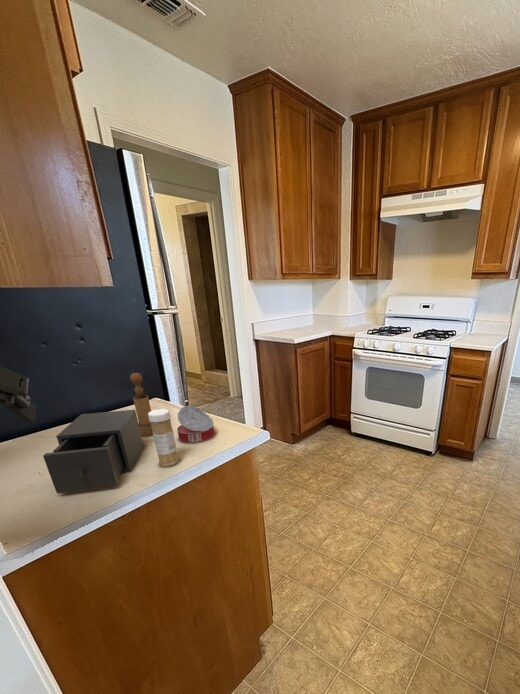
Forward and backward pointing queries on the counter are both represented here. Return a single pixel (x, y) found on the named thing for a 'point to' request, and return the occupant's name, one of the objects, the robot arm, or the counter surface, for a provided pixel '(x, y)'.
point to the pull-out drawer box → (85, 463)
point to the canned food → (194, 425)
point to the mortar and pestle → (141, 406)
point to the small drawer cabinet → (109, 431)
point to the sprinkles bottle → (163, 437)
